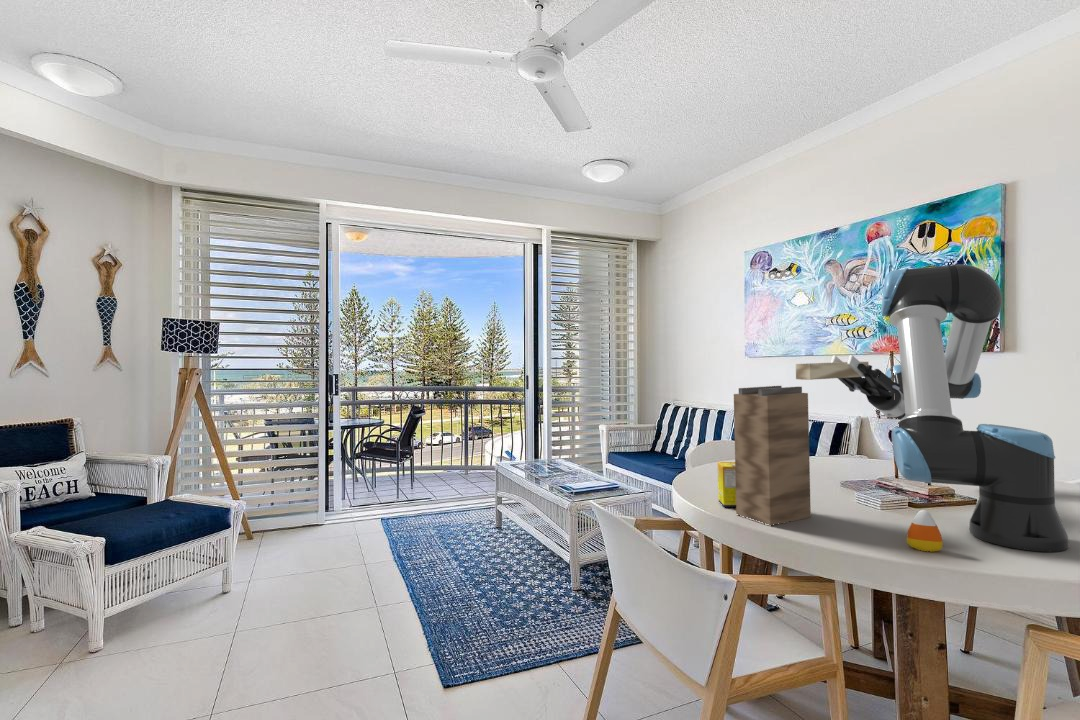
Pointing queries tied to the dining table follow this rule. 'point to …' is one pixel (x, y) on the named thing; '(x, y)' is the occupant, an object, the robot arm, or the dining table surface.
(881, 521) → the dining table surface
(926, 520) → the candy corn
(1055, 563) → the dining table surface
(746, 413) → the walnut stand
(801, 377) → the maple bar
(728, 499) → the supplement box
